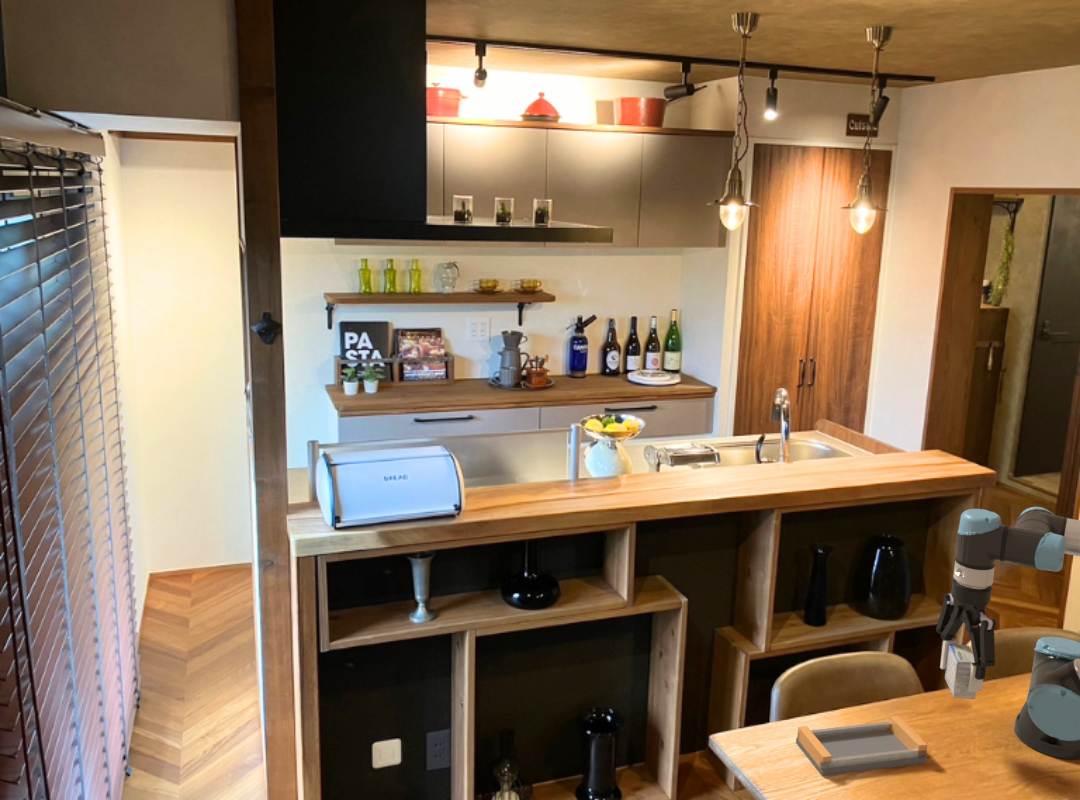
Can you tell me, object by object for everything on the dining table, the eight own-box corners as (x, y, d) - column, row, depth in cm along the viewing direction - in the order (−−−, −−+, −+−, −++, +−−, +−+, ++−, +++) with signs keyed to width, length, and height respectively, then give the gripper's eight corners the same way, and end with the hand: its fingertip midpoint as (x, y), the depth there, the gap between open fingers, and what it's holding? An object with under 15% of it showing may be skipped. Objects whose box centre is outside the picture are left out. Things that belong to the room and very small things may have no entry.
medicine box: (975, 700, 189) (979, 663, 187) (952, 698, 190) (957, 661, 188) (965, 681, 196) (969, 645, 194) (943, 678, 197) (948, 643, 195)
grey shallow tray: (895, 731, 200) (896, 714, 199) (926, 763, 189) (928, 745, 188) (795, 742, 195) (797, 725, 194) (822, 776, 184) (823, 758, 183)
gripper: (925, 563, 197) (915, 655, 202) (991, 606, 176) (977, 708, 181) (955, 560, 198) (944, 652, 203) (1024, 603, 178) (1010, 704, 183)
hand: (960, 678), depth 192 cm, fingers closed on medicine box, 9 cm apart
